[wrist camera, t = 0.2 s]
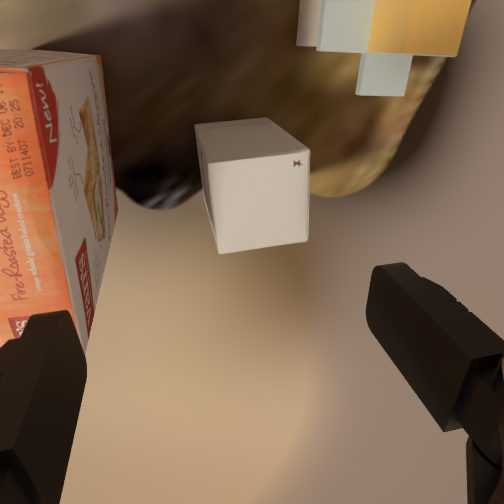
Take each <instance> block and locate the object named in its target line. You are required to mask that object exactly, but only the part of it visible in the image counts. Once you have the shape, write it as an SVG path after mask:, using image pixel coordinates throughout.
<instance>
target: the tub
mask: <svg viewBox="0 0 504 504" xmlns="http://www.w3.org/2000/svg"><path fill="white" fill-rule="evenodd" d="M321 2H322V0H300V4H299V16H298V28H297V39H296V46H310V47H317V39H318V30H319V21H320V11H321Z"/></svg>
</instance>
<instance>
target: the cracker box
mask: <svg viewBox="0 0 504 504" xmlns="http://www.w3.org/2000/svg"><path fill="white" fill-rule="evenodd" d="M117 212H118V207H117V199H116V189H115V179H114V170H113V161H112V151H111V142H110V133H109V124H108V114H107V105H106V96H105V86H104V77H103V68H102V60H101V56H100V55H92V54H81V53H70V52H58V51H45V50H30V49H18V50H0V348H1V347H2V346H3V345H4V344H5V343H6V342H7V341H8V340H9V339H16V338H20V336H21V334H22V332H23V330H24V328H25V326H26V324H27V322H28V319H29V318H30V316H31V315H33V314H39V313H46V312H53V311H60V310H68V311H69V312H70V314H71V316H72V319H73V322H74V325H75V328H76V331H77V334H78V336H79V339H80V342H81V345H82V348H83V351H84V354H85V353H86V348H87V343H88V339H89V334H90V330H91V325H92V322H93V317H94V313H95V308H96V304H97V299H98V294H99V290H100V286H101V281H102V277H103V273H104V269H105V265H106V260H107V256H108V252H109V247H110V243H111V238H112V234H113V230H114V225H115V221H116V217H117Z"/></svg>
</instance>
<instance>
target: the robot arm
mask: <svg viewBox="0 0 504 504" xmlns="http://www.w3.org/2000/svg"><path fill="white" fill-rule="evenodd" d="M366 319H367V323H368V326H369V328H370V330H371V332H372V333H373V335H374V336H375V338H376V339H377V340H378V342H379V343H380V344H381V346H382V347H383V348H384V350H385V351H386V353H387V354H388V356H389V357H390V358H391V360H392V361H393V362H394V364H395V365H396V367H397V368H398V369H399V371H400V372H401V374H402V375H403V376H404V378H405V379H406V380H407V382H408V383H409V385H410V386H411V387H412V389H413V390H414V392H415V393H416V394H417V396H418V397H419V398H420V400H421V401H422V403H423V404H424V405H425V407H426V408H427V410H428V411H429V412H430V414H431V415H432V417H433V418H434V419H435V421H436V422H437V423H438V425H439V426H440V428H441V429H442V431H443V432H447V431H452V430H456V429H460V428H463V429H464V430H465V431H466V432H467V434H468V435H469V437H468V439H467V442H466V468H467V504H504V340H503V339H502V338H500V337H499V336H498V335H497V334H496V333H495V332H493V331H492V330H491V329H490V328H489V327H488V326H487V325H486V324H484V323H483V322H482V321H481V320H480V319H479V318H478V317H476V316H475V315H474V314H473V313H472V312H469V311H468V309H467V308H466V307H465V306H464V305H463V304H462V303H461V302H457V300H456V298H455V297H454V296H452V295H451V294H450V293H449V292H448V291H447V290H445V289H444V288H443V287H442V286H440V285H438V284H436V283H434V282H432V281H430V280H428V279H426V278H424V277H420V276H419V275H418V274H417V273H416V272H415V271H413V270H412V269H411V268H410V267H409V266H408V265H407V264H405V263H403V262H401V263H393V264H386V265H380V266H376V267H375V268H374V269H373V271H372V276H371V281H370V288H369V293H368V299H367V306H366ZM86 379H87V363H86V358H85V354H84V351H83V348H82V345H81V342H80V339H79V336H78V334H77V331H76V328H75V325H74V322H73V319H72V316H71V314H70V312H69V311H68V310H60V311H53V312H46V313H39V314H33V315H31V316H30V318H29V319H28V322H27V324H26V326H25V328H24V330H23V332H22V334H21V336H20V338H16V339H9V340H8V341H7V342H6V343H5V344H4V345H3V346H2V347H1V348H0V504H59V503H60V498H61V494H62V489H63V485H64V480H65V476H66V471H67V466H68V462H69V457H70V453H71V448H72V443H73V439H74V434H75V430H76V425H77V421H78V416H79V411H80V407H81V402H82V398H83V393H84V389H85V383H86Z"/></svg>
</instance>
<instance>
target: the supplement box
mask: <svg viewBox="0 0 504 504" xmlns="http://www.w3.org/2000/svg"><path fill="white" fill-rule="evenodd" d="M194 129H195V135H196V142H197V149H198V157H199V165H200V172H201V180H202V187H203V196H204V199H205V204H206V208H207V212H208V216H209V219H210V223H211V227H212V230H213V234H214V238H215V241H216V245H217V249H218V253H219V254H225V253H232V252H238V251H244V250H251V249H257V248H263V247H270V246H278V245H285V244H293V243H300V242H306V241H308V234H309V197H310V192H309V182H310V149H309V148H307V147H306V146H305V145H303V144H302V143H301V142H300V141H298V140H297V139H295V138H294V137H293V136H291V135H290V134H289V133H288V132H286V131H285V130H284V129H282V128H281V127H279V126H278V125H277V124H275V123H274V122H273V121H271V120H270V119H269V118H267V117H263V118H253V119H244V120H234V121H223V122H213V123H202V124H195V125H194Z"/></svg>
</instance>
